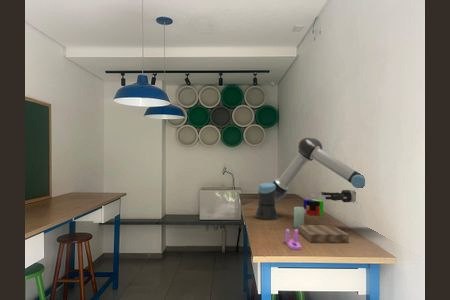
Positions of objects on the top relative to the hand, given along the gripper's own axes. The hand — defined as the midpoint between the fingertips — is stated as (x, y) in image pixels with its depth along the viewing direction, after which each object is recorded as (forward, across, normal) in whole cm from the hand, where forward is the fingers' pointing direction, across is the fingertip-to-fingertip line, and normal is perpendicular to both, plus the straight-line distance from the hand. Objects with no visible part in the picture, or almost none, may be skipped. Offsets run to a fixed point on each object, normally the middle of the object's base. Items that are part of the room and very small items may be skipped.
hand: (315, 196), depth 185 cm
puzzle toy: (-14, +41, -19) cm, 48 cm away
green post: (+10, 0, -19) cm, 21 cm away
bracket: (+24, -36, -20) cm, 47 cm away
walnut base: (+4, -21, -19) cm, 28 cm away
